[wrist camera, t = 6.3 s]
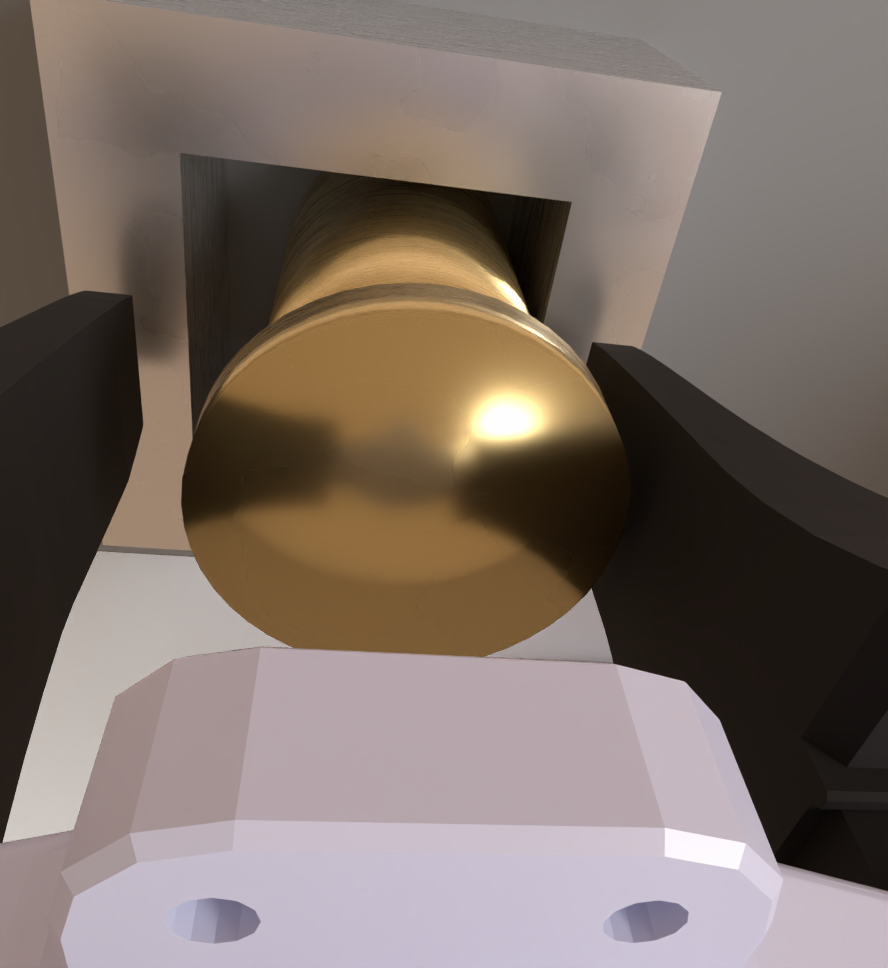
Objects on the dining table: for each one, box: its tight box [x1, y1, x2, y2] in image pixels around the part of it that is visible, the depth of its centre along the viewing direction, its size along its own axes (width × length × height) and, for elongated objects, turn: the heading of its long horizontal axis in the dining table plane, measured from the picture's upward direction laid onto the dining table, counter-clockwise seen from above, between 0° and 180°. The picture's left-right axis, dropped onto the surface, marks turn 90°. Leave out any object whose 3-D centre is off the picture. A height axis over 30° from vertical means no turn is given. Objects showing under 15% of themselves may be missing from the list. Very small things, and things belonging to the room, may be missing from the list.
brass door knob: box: [181, 171, 631, 657], centre depth 12 cm, size 5×5×8 cm
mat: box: [0, 0, 888, 557], centre depth 16 cm, size 23×16×1 cm
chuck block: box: [30, 0, 722, 551], centre depth 14 cm, size 8×8×4 cm
